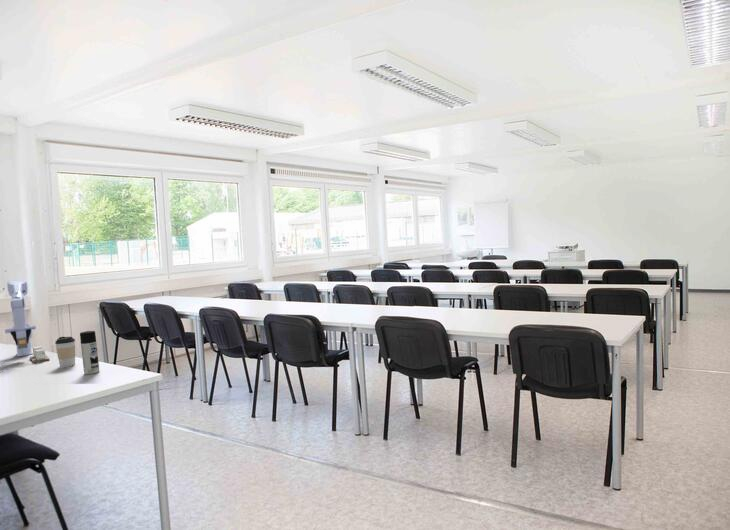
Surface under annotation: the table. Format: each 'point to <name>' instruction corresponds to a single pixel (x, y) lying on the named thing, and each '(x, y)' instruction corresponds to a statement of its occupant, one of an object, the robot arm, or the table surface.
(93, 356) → the spray can
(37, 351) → the cream blocky elongated piece
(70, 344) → the coffee cup
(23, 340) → the block
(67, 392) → the table surface
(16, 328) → the robot arm
